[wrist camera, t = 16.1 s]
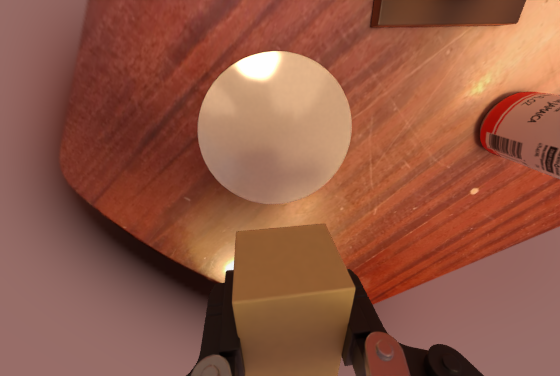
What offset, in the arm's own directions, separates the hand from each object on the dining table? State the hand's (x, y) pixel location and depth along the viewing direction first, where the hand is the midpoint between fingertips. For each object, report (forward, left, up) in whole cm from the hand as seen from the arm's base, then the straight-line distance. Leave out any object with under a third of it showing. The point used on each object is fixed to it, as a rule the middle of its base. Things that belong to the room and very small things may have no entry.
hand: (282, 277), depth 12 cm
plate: (+1, +3, -14) cm, 15 cm away
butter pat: (0, 0, 0) cm, 0 cm away
